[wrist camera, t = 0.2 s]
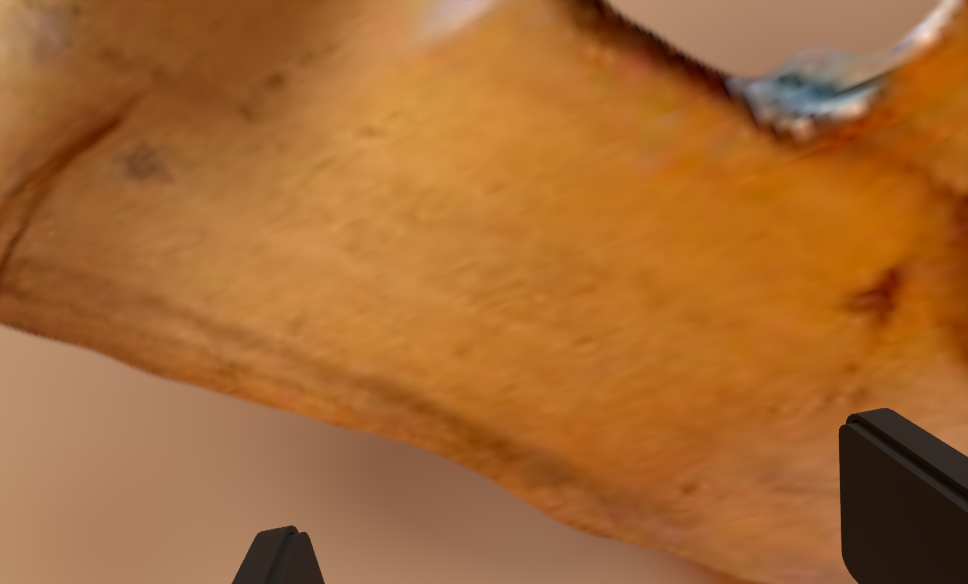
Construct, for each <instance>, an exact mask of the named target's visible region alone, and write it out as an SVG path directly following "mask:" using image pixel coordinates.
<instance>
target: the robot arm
mask: <svg viewBox="0 0 968 584" xmlns="http://www.w3.org/2000/svg"><path fill="white" fill-rule="evenodd" d="M839 463H840V503H841V544H842V557H843V560H844V563H845V565H846V567H847V569H848V571H849V573H850V574H851V575H852V577H853V578H854V579H855V580H856V581H857V582H858V583H859V584H968V457H967V456H965V455H964V454H962V453H960V452H959V451H957V450H956V449H954V448H952V447H951V446H949V445H948V444H946V443H944V442H943V441H941V440H940V439H938V438H936V437H935V436H933V435H931V434H930V433H928V432H927V431H925V430H923V429H922V428H920V427H919V426H917V425H915V424H914V423H912V422H911V421H909V420H907V419H906V418H904V417H903V416H901V415H899V414H898V413H896V412H895V411H893V410H891V409H888V408H880V409H875V410H870V411H865V412H860V413H855V414H851V415H850V416H848V418H847V420H846V424H845V425H842V426H841V427H840V429H839ZM232 584H325V583H324V581H323V577H322V574H321V571H320V568H319V565H318V562H317V559H316V556H315V553H314V550H313V547H312V544H311V541H310V538H309V536H308V534H307V533H306V532H301V533H299V532H298V530H297V529H296V527H294V526H292V525H291V526H287V527H281V528H276V529H271V530H266V531H262V532H260V533H258V534H257V536H256V537H255V539H254V541H253V543H252V545H251V547H250V549H249V551H248V553H247V555H246V557H245V559H244V560H243V562H242V564H241V566H240V568H239V570H238V572H237V574H236V576H235V578H234V580H233V582H232Z"/></svg>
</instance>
